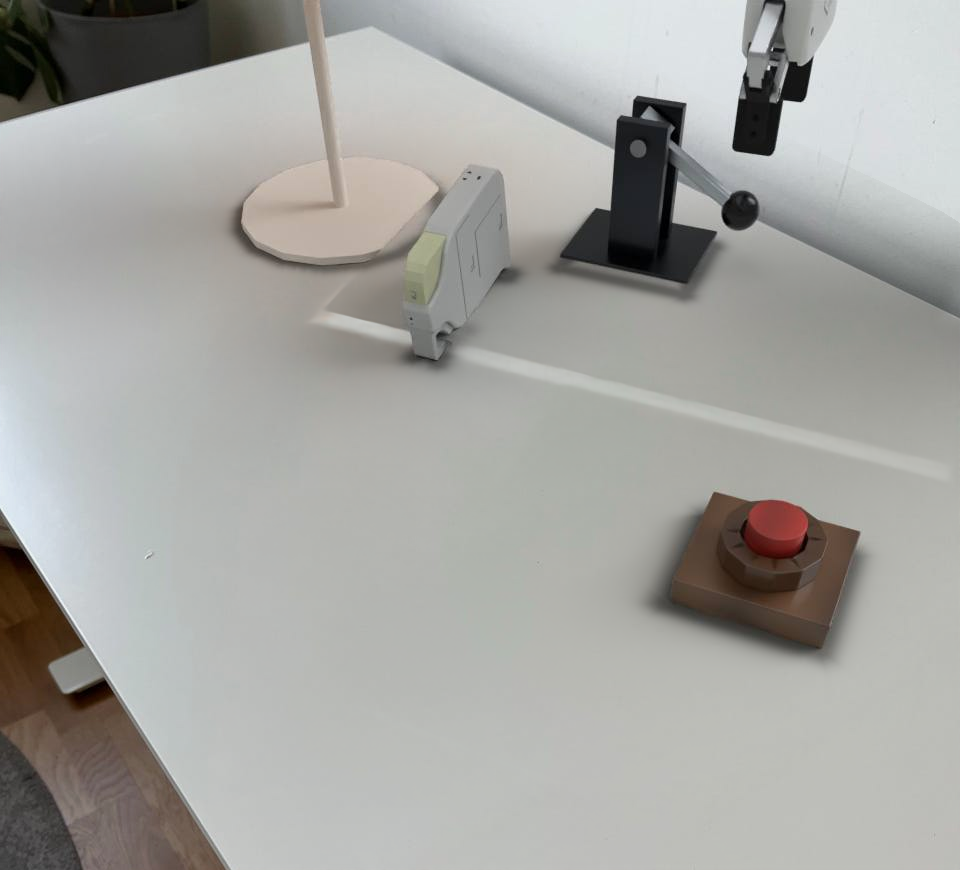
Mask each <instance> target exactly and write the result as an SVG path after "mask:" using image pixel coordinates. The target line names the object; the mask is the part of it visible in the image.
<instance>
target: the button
mask: <svg viewBox="0 0 960 870" xmlns="http://www.w3.org/2000/svg"><path fill="white" fill-rule="evenodd" d="M767 500H768V501H763V502H761V503H759V504H757V505H755V506H754V507H753V508H752V509H751V511H750V513H749V517H748V521H747V525H746V529H745V534H744V539H745V542H746V544H747V546H748V547H749V548H750V549H751V550H752V551H753V552H754V553H756V554H758V555H760V556H764V557H767V558H771V559H786V558H789V557H791V556H793V555H795V554H796V553H797V552H798V551H799V550H800V548H801V546H802V543H803V540H804V536H805V533H806V530H807V526H808V520H807V517H806V515H805V514H804V512H803V511H802V510H801V509H800V508H798V507H797V506H798V505H796V504H793V503H791V502H789V501H785V500H780V499H767ZM795 505H796V506H795Z"/></svg>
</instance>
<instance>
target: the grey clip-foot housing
mask: <svg viewBox="0 0 960 870" xmlns="http://www.w3.org/2000/svg"><path fill="white" fill-rule="evenodd" d="M505 187H506V186H505V179H504V175H503V173H502V172H501V170H500V169H499V168H495V167H489V166H484V165H478V164H472V163H471V164H469V165H468V166H467V167H465V168H464V169H463V171H462V172H461V174H460V175H459V176H458V178H457V179H456V181H455V182H454V183H453V185H452V186H451V188H450V189H449V191H448V192H447V193H446V195H445V196H444V198H443V199H442V200H441V202H440V203H439V205H438V206H437V207H436V209H435V210H434V211H433V212H432V214H431V215H430V217H429V218H428V220H427V221H426V223H425V226H424V228H423V231H422V233H421V235H420V236H419V238H418V239H417V240H416V242H415V244H414V245H413V246H412V247H411V249H410V250H409V251H408V253H407V257H406V261H405V268H404V277H403V278H404V279H403V282H404V283H403V287H404V288H403V292H404V293H403V300H402V313H403V318H404V323H405V326H406V327H407V328H408V329H409V333H410V336H411V342H412V347H413V352H414V354H415V355H416V356H419V357H423V358H426V359H431V360H433V361H434V360H435V361H438V360H439V359H440V357H441V356H442V354H443V353H444V351H445V350H446V349H447V347H448V345H449V344H450V342H451V340H448V339H444V338H440V337H437V335H438V334H439V333H441V334H445V335H451V333H452V332H453V331H454V329H459V328H461V327H462V326H463V325H464V324H465V322H466V321H468V319H470V317H471V315H472V314H473V312H475V310H476V309H477V308H478V307H479V305H480V304H481V302H482V301H483V300H484V298H485V297H486V295H487V294H488V292H489V290H490V289H491V288H492V286H493V284H494V283H495V281H496V280H497V278H498V276H500V274H501V272H502V271H503V270H507V269H509V268H510V267H511V265H512V263H511V252H510V250H511V249H510V240H509V226H508V215H507V214H508V213H507V201H506V189H505Z"/></svg>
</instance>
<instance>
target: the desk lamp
mask: <svg viewBox="0 0 960 870" xmlns="http://www.w3.org/2000/svg"><path fill="white" fill-rule="evenodd" d="M302 5H303V11H304V17H305V23H306V31H307V37H308V44H309V49H310V56H311V63H312V69H313V76H314V81H315V88H316V94H317V101H318V108H319V114H320V120H321V128H322V133H323V140H324V147H325V152H326V158H325V159H321V160H317V161H313V162H309V163H305V164H301V165H299V166H294V167H291V168H288V169H286V170H283V171H282V172H280V173H279V174H276V175H274V176H272V177H270V178H269V179H267V180H265V181H263V182H261V183H260V184H259V185H258V186H257V187H256V188H255V189H254V190H253V191H252V193H250V195H249V196H248V197H247V198H246V199H245V200H244V201H243V205H242V212H241V213H242V214H241V220H240V221H241V222H240V223H241V226H242V227H241V228H242V230H243V232H244V233H245V234H246V235H247V237H248V238H249V240H250V241H251V242H252V243H253V245H254V246H255V248H257V249H259V250H261V251H263V252H265V253H268V254H270V255H272V256H274V257H277V258H279V259H281V260H283V261H287V262H295V263H301V264H309V265H315V266H331V265H344V264H358V263H366V262H368V261H373V259H374V258H375V257H376V256H377V255H378V253H380V252H381V250H383V248H385V247H386V245H388V243H390V242H391V240H392V239H394V237H395V236H396V235H397V234H398V233H399V232H400V231H401V230H403V228H404V227H405V226H406V225H407V224H408V223H409V222H410V221H411V220H412V219H413V218H414V217H415V216H416V215H417V214H418V213H419V212H420V211H421V210H422V209H423V207H424V206H425V205H426V204H427V203H428V202H429V201H430V200H431V199H432V198H433V197H434V196H435V195H437V193H438V192H439V191H440V186H438V185H437V184H436V183H435V182H434V181H433V180H432V179H431V178H430V177H429V176H428V175H427V174H426V173H424V172H423V170H420V169H418V168H415V167H413V166H409V165H407V164H405V163H402V162H399V161H397V160H391V159H381V158H375V157H374V158H373V157H366V156H354V157H353V156H352V157H342V149H341V141H340V136H339V134H340V133H339V128H338V127H339V126H338V121H337V114H336V107H335V100H334V99H335V98H334V93H333V86H332V80H331V74H330V73H331V71H330V65H329V58H328V51H327V50H328V49H327V45H326V37H325V30H324V23H323V16H322V9H321V1H320V0H302Z"/></svg>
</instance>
